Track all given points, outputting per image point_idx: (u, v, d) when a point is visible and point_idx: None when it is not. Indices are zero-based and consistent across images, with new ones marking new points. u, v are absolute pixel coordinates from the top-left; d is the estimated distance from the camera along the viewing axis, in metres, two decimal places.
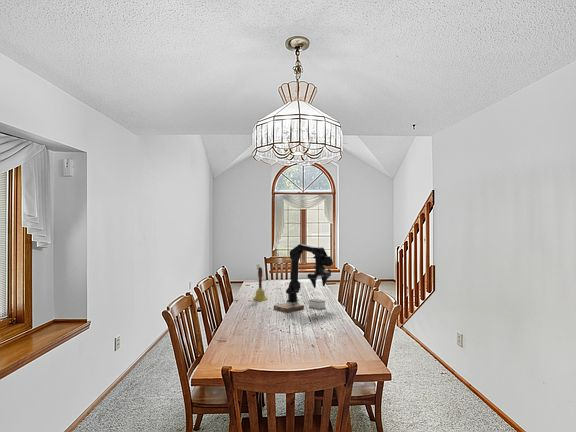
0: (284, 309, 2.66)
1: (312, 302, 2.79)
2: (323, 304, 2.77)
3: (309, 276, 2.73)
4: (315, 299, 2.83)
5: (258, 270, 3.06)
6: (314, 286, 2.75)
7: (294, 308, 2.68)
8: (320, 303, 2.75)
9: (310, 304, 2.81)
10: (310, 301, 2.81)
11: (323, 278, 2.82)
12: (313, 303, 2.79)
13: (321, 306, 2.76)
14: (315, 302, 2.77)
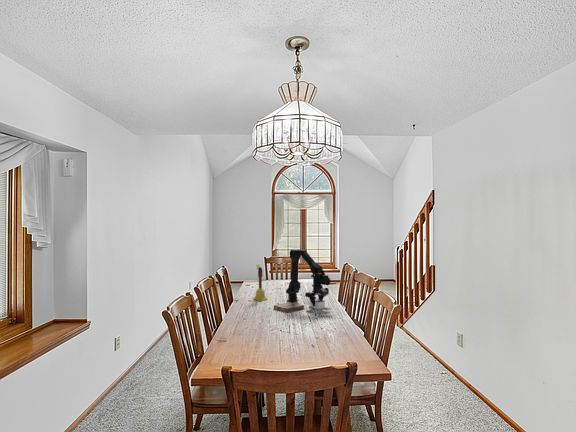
0: (284, 309, 2.66)
1: None
2: (322, 304, 2.77)
3: (307, 295, 2.74)
4: (316, 299, 2.83)
5: (258, 270, 3.06)
6: (313, 304, 2.77)
7: (294, 308, 2.68)
8: (319, 303, 2.75)
9: (310, 304, 2.81)
10: (310, 301, 2.82)
11: (320, 296, 2.83)
12: None
13: (320, 305, 2.75)
14: None
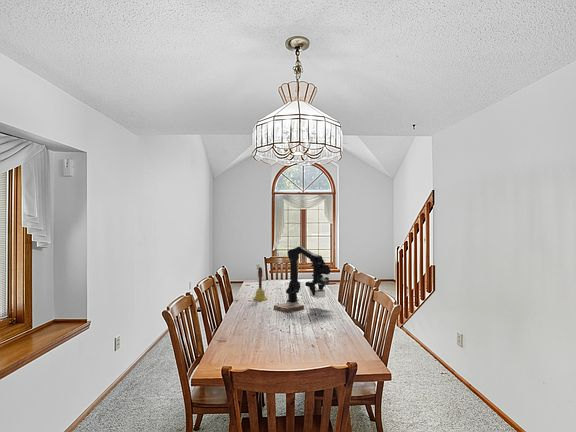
0: (284, 309, 2.66)
1: None
2: (323, 293, 2.77)
3: (307, 284, 2.74)
4: (316, 288, 2.83)
5: (258, 270, 3.06)
6: (313, 294, 2.77)
7: (294, 308, 2.68)
8: (319, 292, 2.75)
9: (310, 293, 2.81)
10: (310, 290, 2.81)
11: (320, 286, 2.83)
12: None
13: (320, 295, 2.75)
14: (315, 291, 2.77)
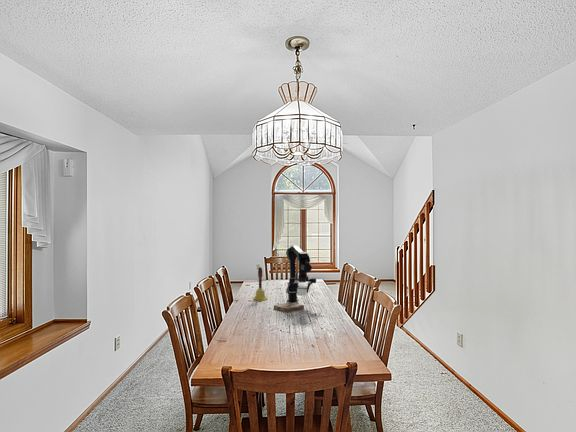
0: (284, 309, 2.66)
1: None
2: (303, 291, 2.72)
3: None
4: (305, 286, 2.79)
5: (258, 270, 3.06)
6: None
7: (294, 308, 2.68)
8: (298, 289, 2.73)
9: None
10: None
11: (308, 284, 2.77)
12: None
13: (299, 292, 2.72)
14: None
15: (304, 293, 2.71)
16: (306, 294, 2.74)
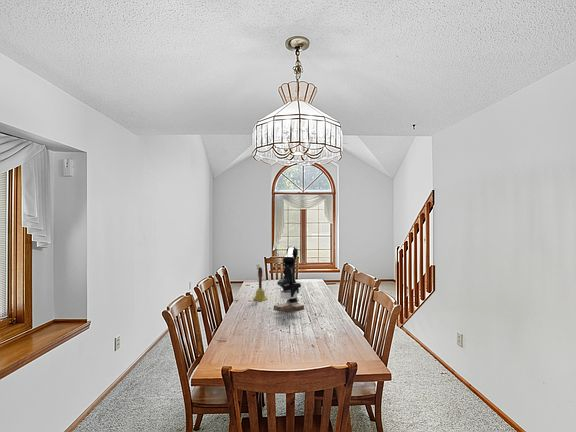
0: (284, 309, 2.66)
1: None
2: (284, 295, 2.70)
3: None
4: None
5: (258, 270, 3.06)
6: None
7: (294, 308, 2.68)
8: (281, 292, 2.73)
9: None
10: None
11: None
12: None
13: (282, 295, 2.72)
14: None
15: (284, 297, 2.70)
16: (289, 298, 2.71)
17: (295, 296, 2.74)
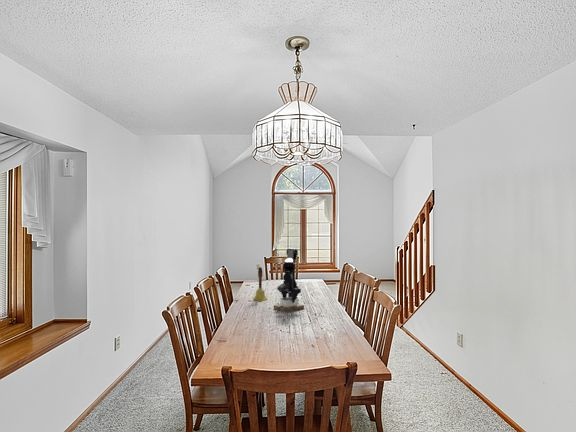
0: (284, 309, 2.66)
1: None
2: (284, 302, 2.70)
3: None
4: None
5: (258, 270, 3.06)
6: None
7: (294, 308, 2.68)
8: (281, 300, 2.73)
9: None
10: None
11: None
12: None
13: (282, 303, 2.72)
14: None
15: (284, 304, 2.69)
16: None
17: (295, 303, 2.74)
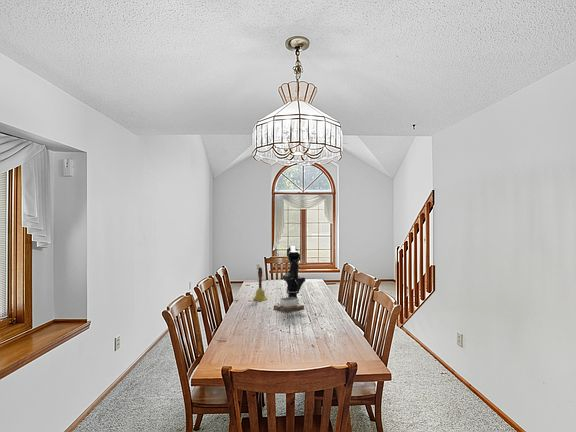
0: (284, 309, 2.66)
1: None
2: (284, 302, 2.70)
3: None
4: (293, 298, 2.75)
5: (258, 270, 3.06)
6: (289, 287, 2.85)
7: (294, 308, 2.68)
8: (281, 300, 2.73)
9: None
10: None
11: None
12: None
13: (282, 303, 2.72)
14: None
15: (284, 304, 2.69)
16: None
17: (295, 303, 2.74)
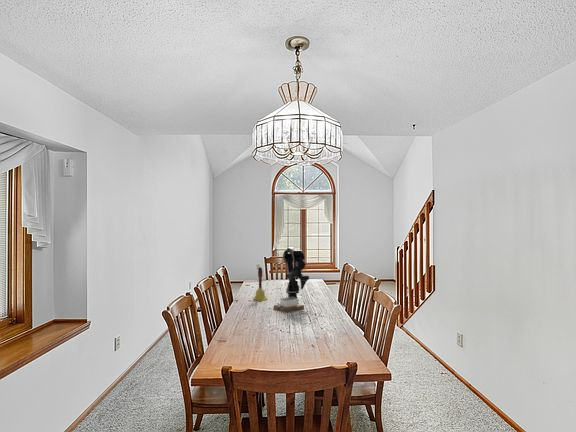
0: (284, 309, 2.66)
1: None
2: (284, 302, 2.70)
3: None
4: (293, 298, 2.75)
5: (258, 270, 3.06)
6: None
7: (294, 308, 2.68)
8: (281, 300, 2.73)
9: None
10: None
11: None
12: None
13: (282, 303, 2.72)
14: None
15: (284, 304, 2.69)
16: None
17: (295, 303, 2.74)
